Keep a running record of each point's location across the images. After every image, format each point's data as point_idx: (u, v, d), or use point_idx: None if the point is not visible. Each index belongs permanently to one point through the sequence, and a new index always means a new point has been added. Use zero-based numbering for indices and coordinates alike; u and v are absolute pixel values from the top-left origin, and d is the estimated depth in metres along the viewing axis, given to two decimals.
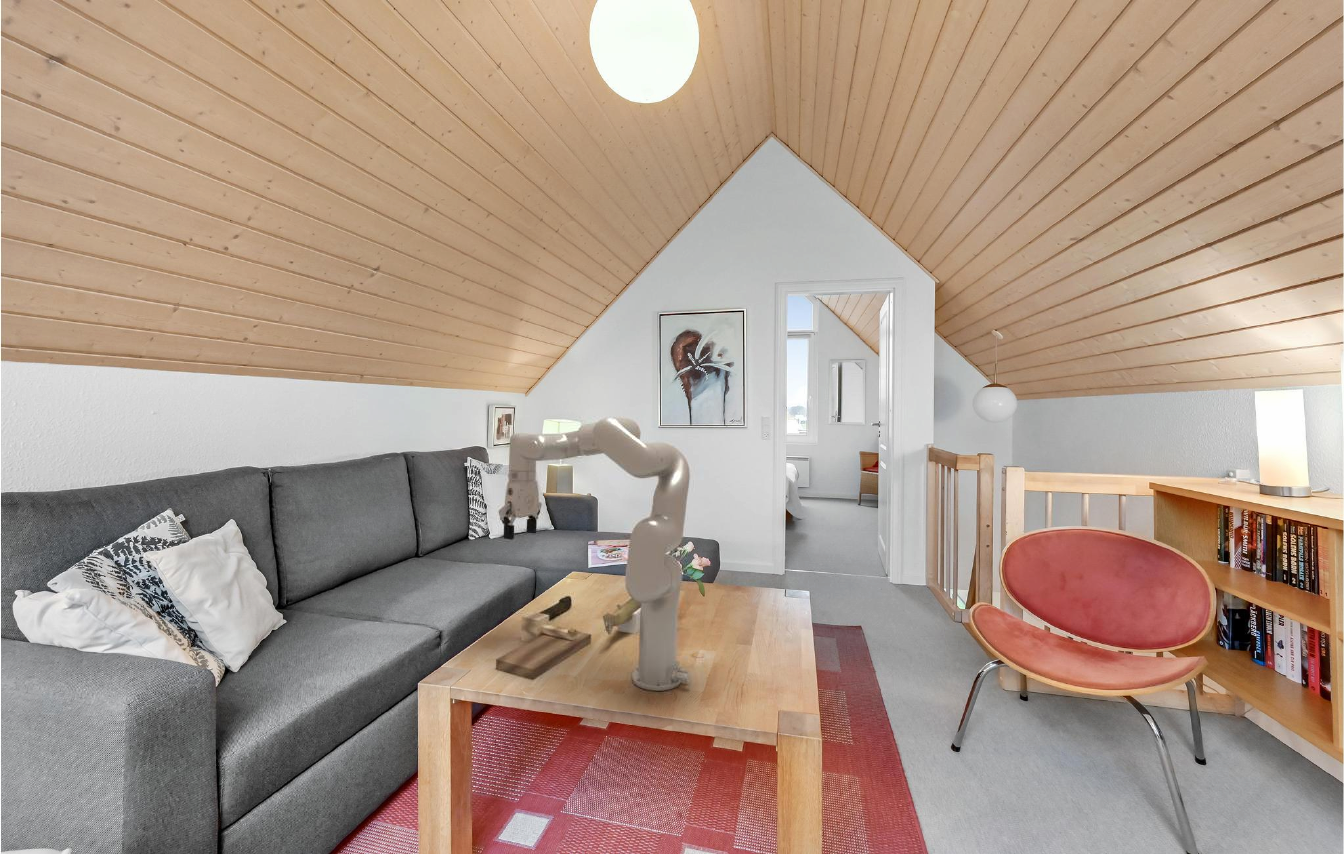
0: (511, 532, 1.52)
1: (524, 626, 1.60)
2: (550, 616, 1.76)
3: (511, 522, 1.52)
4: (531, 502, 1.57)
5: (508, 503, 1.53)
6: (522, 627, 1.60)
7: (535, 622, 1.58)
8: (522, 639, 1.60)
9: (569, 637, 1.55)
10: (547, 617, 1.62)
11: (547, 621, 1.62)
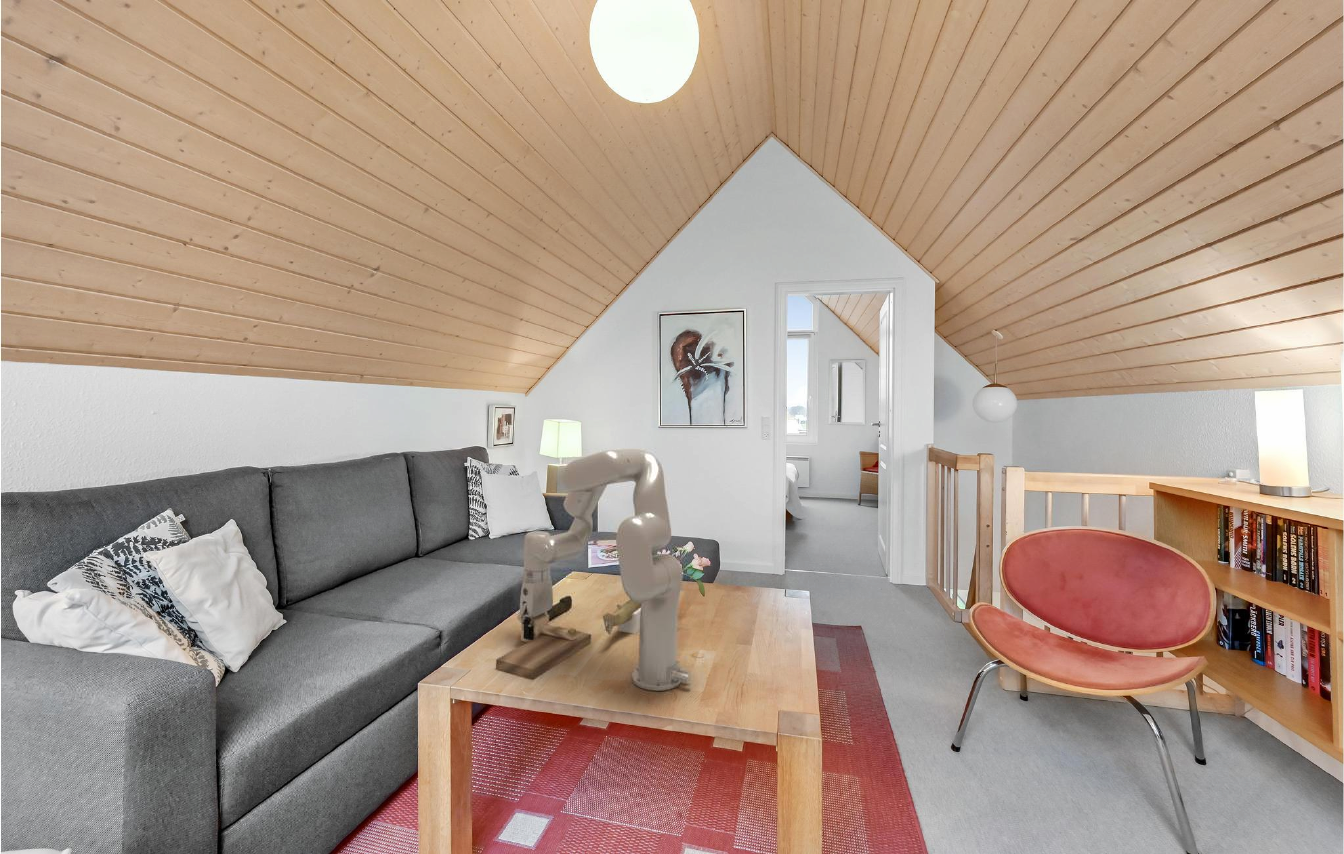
0: (531, 633, 1.58)
1: None
2: (551, 616, 1.76)
3: (531, 623, 1.58)
4: (545, 599, 1.61)
5: (524, 605, 1.57)
6: (522, 627, 1.60)
7: (535, 622, 1.58)
8: (522, 639, 1.60)
9: (569, 637, 1.55)
10: (547, 617, 1.62)
11: (547, 621, 1.62)
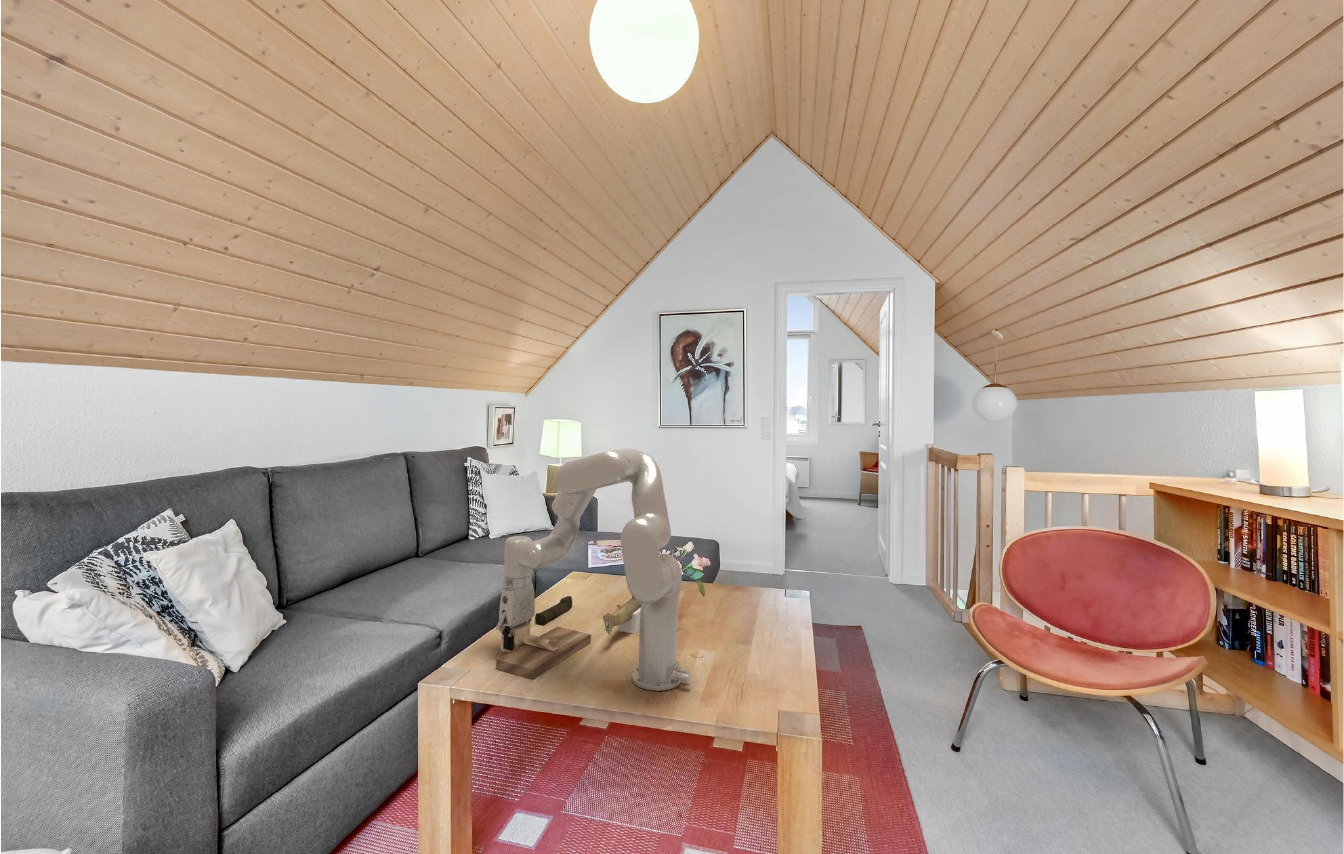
0: (511, 643, 1.50)
1: None
2: (551, 616, 1.76)
3: (510, 633, 1.50)
4: (527, 608, 1.53)
5: (503, 614, 1.49)
6: (502, 636, 1.53)
7: (515, 631, 1.51)
8: (502, 649, 1.53)
9: (550, 648, 1.47)
10: (528, 626, 1.54)
11: (528, 630, 1.54)
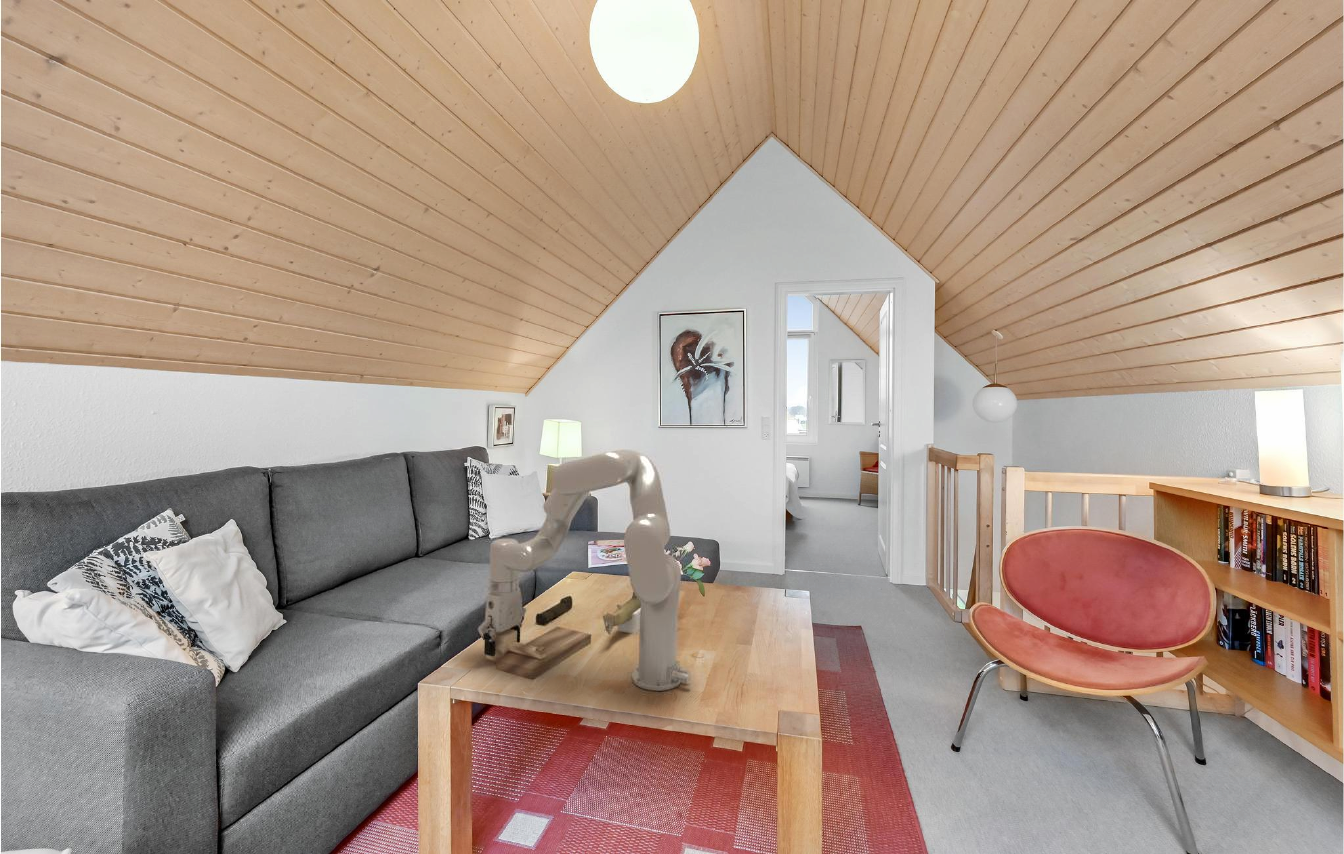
0: (492, 648, 1.43)
1: None
2: (552, 616, 1.76)
3: (492, 638, 1.43)
4: (514, 613, 1.48)
5: (489, 617, 1.44)
6: None
7: (501, 639, 1.46)
8: (487, 657, 1.48)
9: (537, 655, 1.42)
10: (515, 633, 1.49)
11: (515, 637, 1.49)
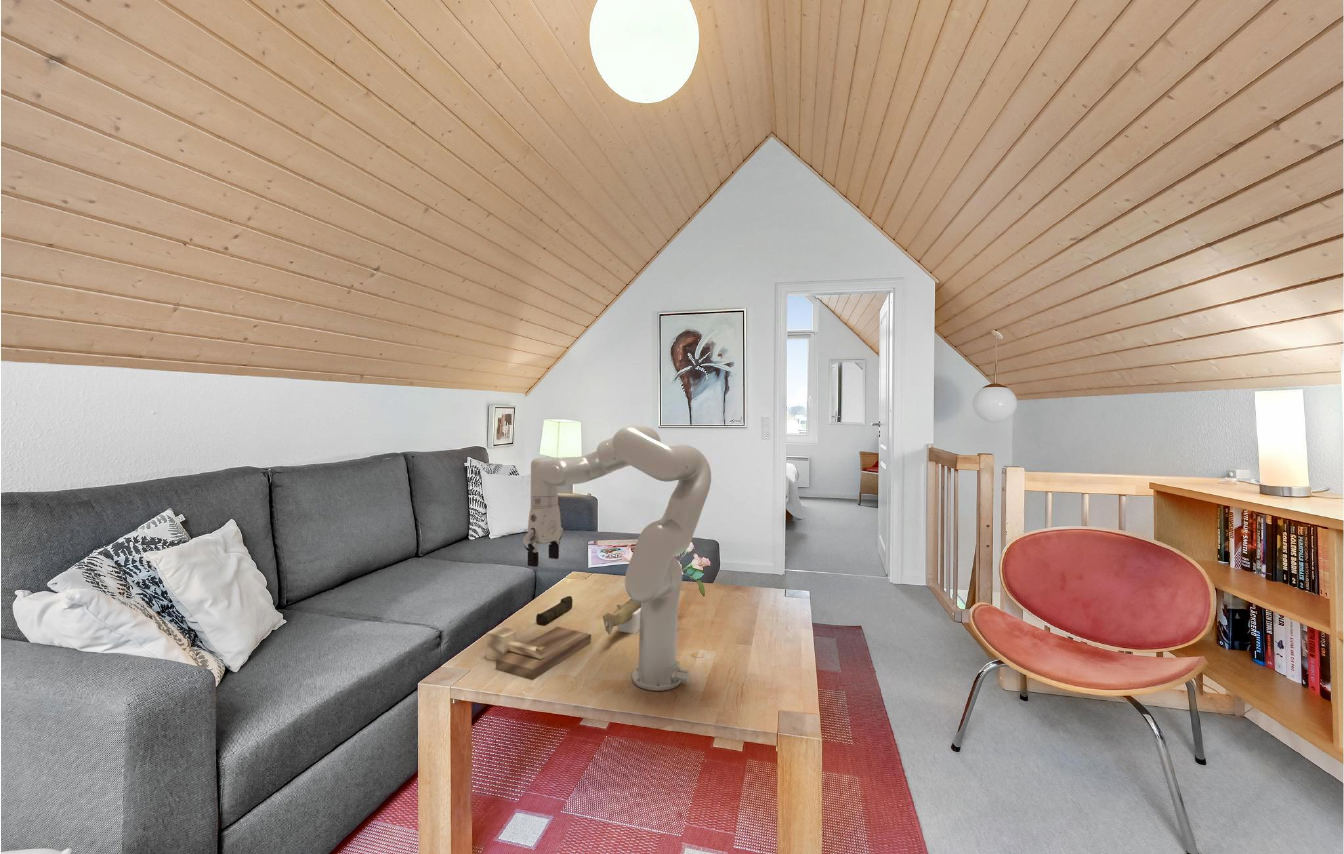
0: (535, 559, 1.50)
1: (489, 643, 1.47)
2: (552, 616, 1.76)
3: (535, 549, 1.50)
4: (554, 527, 1.55)
5: (532, 530, 1.50)
6: (487, 644, 1.48)
7: (500, 639, 1.46)
8: (487, 657, 1.48)
9: (537, 655, 1.42)
10: (515, 633, 1.49)
11: (515, 637, 1.49)
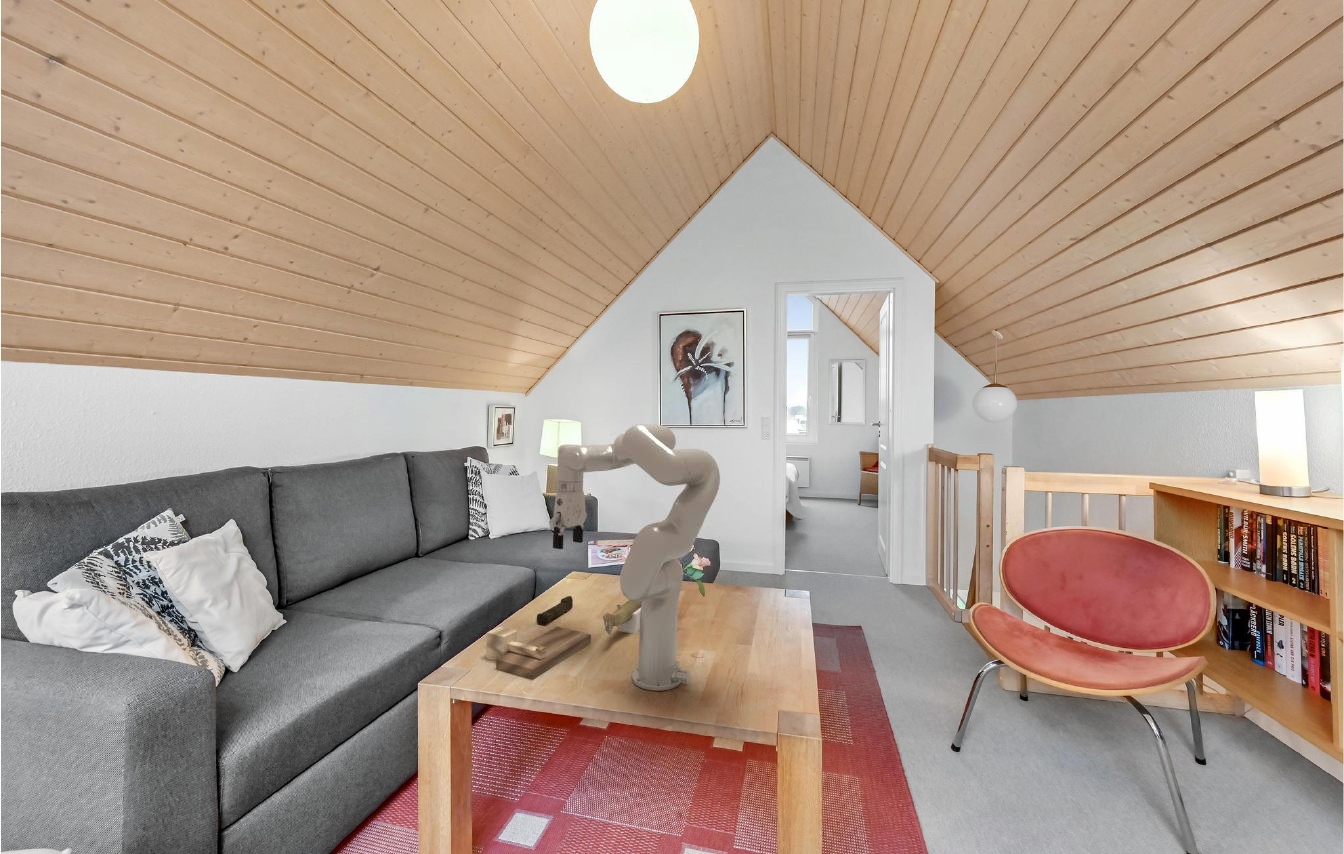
0: (560, 542, 1.55)
1: (489, 643, 1.47)
2: (553, 616, 1.76)
3: (561, 532, 1.55)
4: (579, 512, 1.60)
5: (557, 513, 1.55)
6: (487, 644, 1.48)
7: (501, 639, 1.46)
8: (487, 657, 1.48)
9: (537, 656, 1.42)
10: (515, 633, 1.49)
11: (515, 637, 1.49)
